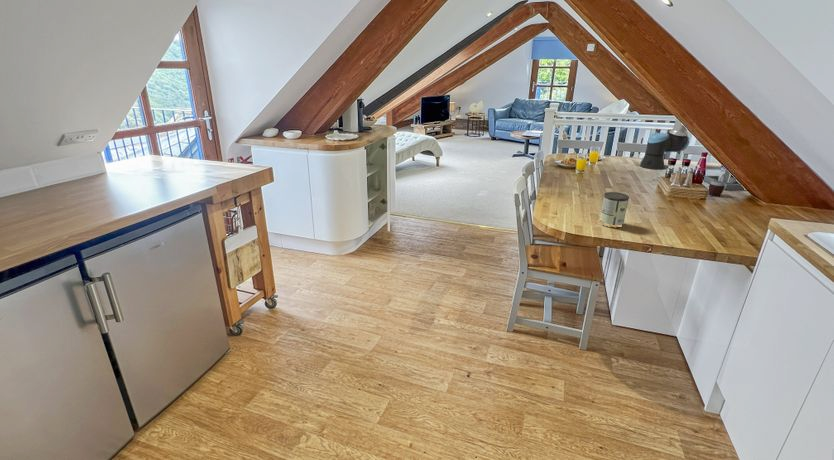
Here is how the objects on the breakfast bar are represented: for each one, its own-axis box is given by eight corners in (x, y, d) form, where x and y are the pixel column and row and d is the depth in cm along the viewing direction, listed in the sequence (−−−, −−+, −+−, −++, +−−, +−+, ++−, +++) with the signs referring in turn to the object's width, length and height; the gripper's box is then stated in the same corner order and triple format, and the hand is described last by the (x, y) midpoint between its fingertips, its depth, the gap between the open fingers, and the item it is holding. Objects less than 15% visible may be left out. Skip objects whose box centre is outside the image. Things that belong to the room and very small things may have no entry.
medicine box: (731, 180, 252) (735, 167, 249) (735, 182, 248) (739, 168, 244) (717, 180, 252) (721, 166, 249) (721, 182, 248) (725, 168, 245)
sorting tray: (702, 181, 260) (703, 175, 259) (725, 181, 260) (727, 175, 259) (724, 190, 242) (726, 184, 240) (749, 190, 242) (751, 184, 241)
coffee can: (604, 218, 198) (609, 190, 192) (626, 224, 191) (632, 195, 185) (595, 224, 191) (600, 195, 185) (617, 230, 184) (623, 200, 179)
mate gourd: (710, 192, 237) (717, 167, 231) (725, 196, 231) (733, 170, 225) (703, 194, 233) (711, 169, 228) (719, 198, 227) (727, 172, 221)
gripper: (721, 139, 249) (710, 177, 258) (743, 145, 233) (731, 185, 242) (733, 139, 249) (722, 177, 258) (756, 145, 233) (743, 185, 242)
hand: (726, 181), depth 250 cm, fingers closed on medicine box, 5 cm apart
